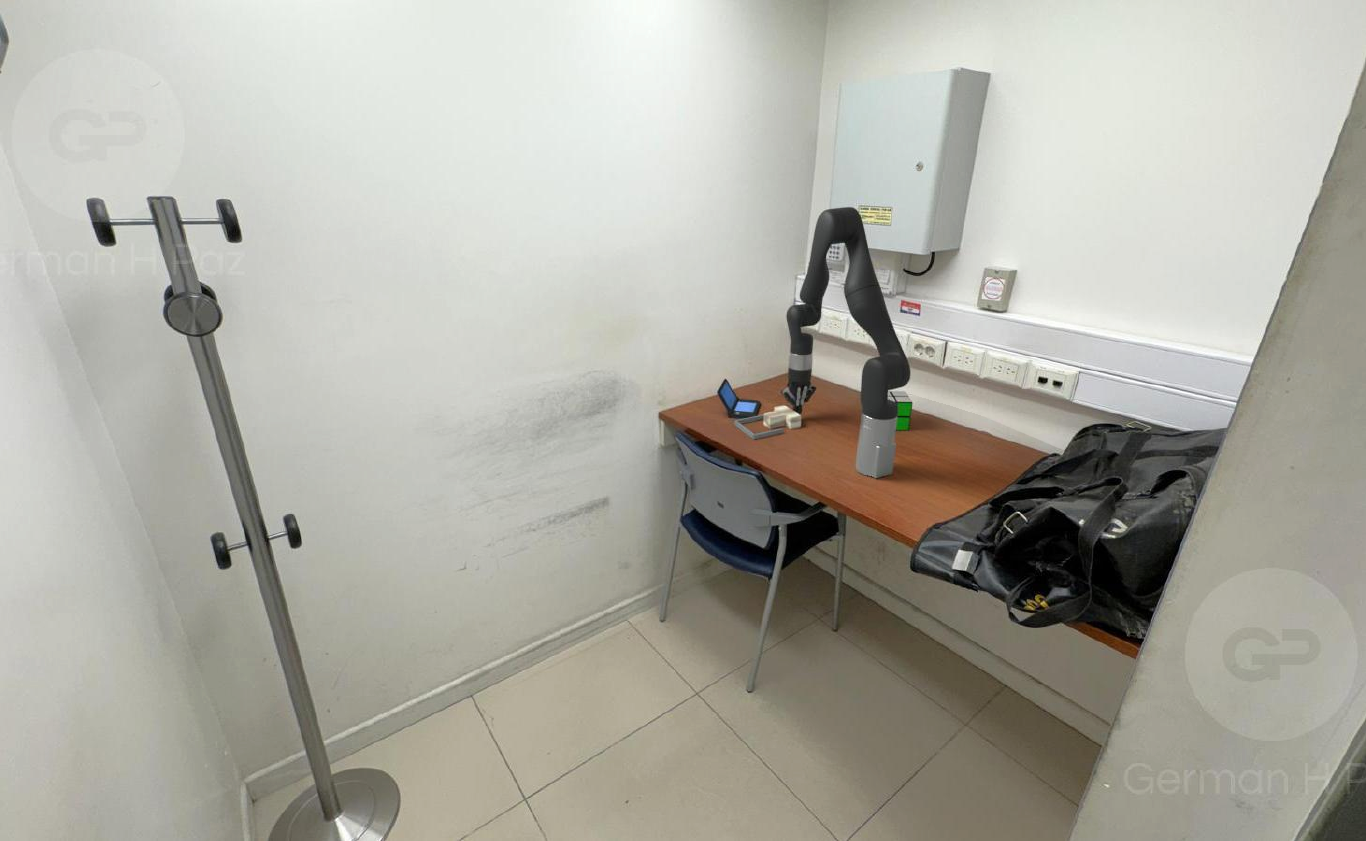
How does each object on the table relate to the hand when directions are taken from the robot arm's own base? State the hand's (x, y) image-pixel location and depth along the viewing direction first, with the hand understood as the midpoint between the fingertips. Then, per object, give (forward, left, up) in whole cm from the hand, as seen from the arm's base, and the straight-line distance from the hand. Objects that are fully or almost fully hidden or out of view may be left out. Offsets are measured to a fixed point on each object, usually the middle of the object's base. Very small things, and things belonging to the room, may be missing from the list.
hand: (797, 414), depth 195 cm
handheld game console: (+17, +13, -3) cm, 21 cm away
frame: (0, +15, -2) cm, 15 cm away
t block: (0, +7, -2) cm, 7 cm away
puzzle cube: (-16, -25, -2) cm, 30 cm away
